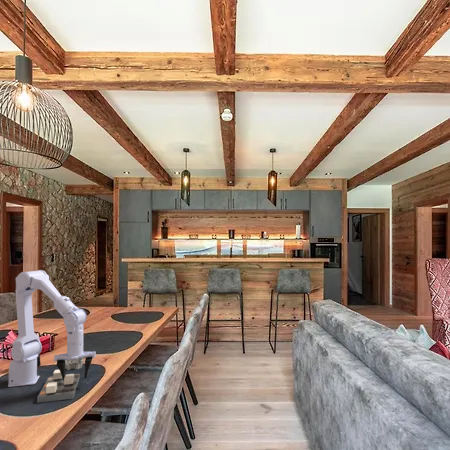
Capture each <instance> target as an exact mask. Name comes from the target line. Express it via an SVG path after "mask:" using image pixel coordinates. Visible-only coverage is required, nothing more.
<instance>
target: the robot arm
mask: <svg viewBox="0 0 450 450" xmlns="http://www.w3.org/2000/svg"><path fill="white" fill-rule="evenodd" d="M36 290H40V291H42V292H43V293H44V294H45V295H46V297H48V298H49V299H50V300H51V301H52V302H53V307H54V308H55V310H56V311H57V312H58V313H59V314H60V316H62V318H63V324H64V326H65V330H66V336H67V337H66V338H67V339H66V352H65V353H60V354H55V355H53V362H54V363H55V362H56V367H57V368H58V370H60V372H61V375H62V380H63V381H64V377H65V375H66V369H65V368H66V367H65V362H66V360H73V359H83V358H84V379H87V378H88V373H89V372H88V371H89V368H90V366H91V364H92V362H93V359H95V358H96V351H84V323H86V321H87V319H88V318H87V317H88V316H87V312H86V311H85V310H84V309H83V308H80V307H77V305H75V304H74V303H73V302H72V300H71V298H70V297H67V296H66V295H63V296H62V295H61V293H60V291H59V290H58V289H57V288H56V287H55V286H54V284H53V283H52V281H50V275H49V274H47V272H46V271H45V270H42V269H38V270H32V271H21V272H20V273H19V274H18V275H17V276H16V277H15V302H16V305H15V306H16V316H17V318H16V319H17V320H16V321H17V331H18V332H17V333H18V335H17V337H16V338H15V339H14V341H13V342H12V348H11V358H12V359H13V360H10V363H9V366H8V385H7V387H8V388H11V387H12V388H13V387H18V386H19V387H20V386H28V385H29V386H30V385H36V383H37V382H38V380H39V378H40V377H41V376H40V375H38V366H37V357H38V354H39V353H40V354H41V352H42V348H43V346H42V343H41V341H40V336H39V335H38V334H37V333H36V332H35V327H34V326H35V325H34V315H33V314H34V313H33V301H32V300H33V298H32V294H33V293H34V292H35V291H36Z"/></svg>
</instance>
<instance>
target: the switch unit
mask: <svg viewBox="0 0 450 450" xmlns="http://www.w3.org/2000/svg"><path fill="white" fill-rule="evenodd" d="M73 374H74V382H73V384H66V385H64V381H63V380H62V379H53V375H52V376H48V377H47V379H46V380H45V383H44V385H43V386H42V388H41V389H40V392H39V393H38V395H37V397H36V399H37V400H36V403H37V404H40V403H49V402H56V401H57V402H59V401H67V400H73V399H74V397H75V394H76V390H77V388H78V384H79V381H80V379H81V378H80V375H81V373H73ZM51 382H57V390H56V392H55V393H47V394H46V386H47V384H48V383H51Z"/></svg>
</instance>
